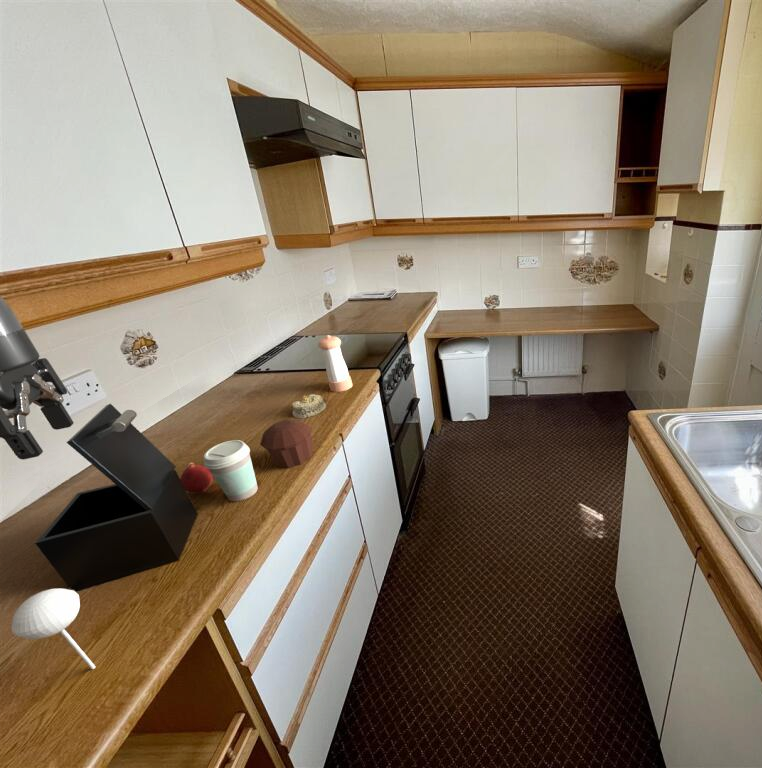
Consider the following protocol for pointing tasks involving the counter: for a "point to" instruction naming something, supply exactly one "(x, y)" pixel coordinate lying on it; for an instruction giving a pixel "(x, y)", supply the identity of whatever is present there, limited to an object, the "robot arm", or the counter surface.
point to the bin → (117, 534)
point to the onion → (196, 478)
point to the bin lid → (124, 455)
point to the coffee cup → (232, 469)
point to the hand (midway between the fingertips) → (49, 441)
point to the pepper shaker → (335, 364)
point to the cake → (308, 406)
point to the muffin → (288, 442)
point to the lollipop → (49, 617)
